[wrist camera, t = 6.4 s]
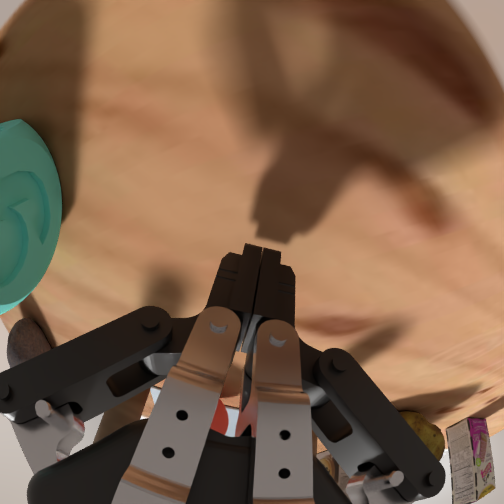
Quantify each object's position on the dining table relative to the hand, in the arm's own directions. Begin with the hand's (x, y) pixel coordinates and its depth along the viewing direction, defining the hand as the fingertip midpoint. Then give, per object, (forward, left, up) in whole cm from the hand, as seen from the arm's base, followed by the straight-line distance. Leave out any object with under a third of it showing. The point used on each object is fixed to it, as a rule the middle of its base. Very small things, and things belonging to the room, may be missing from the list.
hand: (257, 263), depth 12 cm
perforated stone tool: (+22, +21, -2) cm, 30 cm away
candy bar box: (-44, +26, -2) cm, 51 cm away
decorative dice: (+15, -1, -2) cm, 15 cm away
